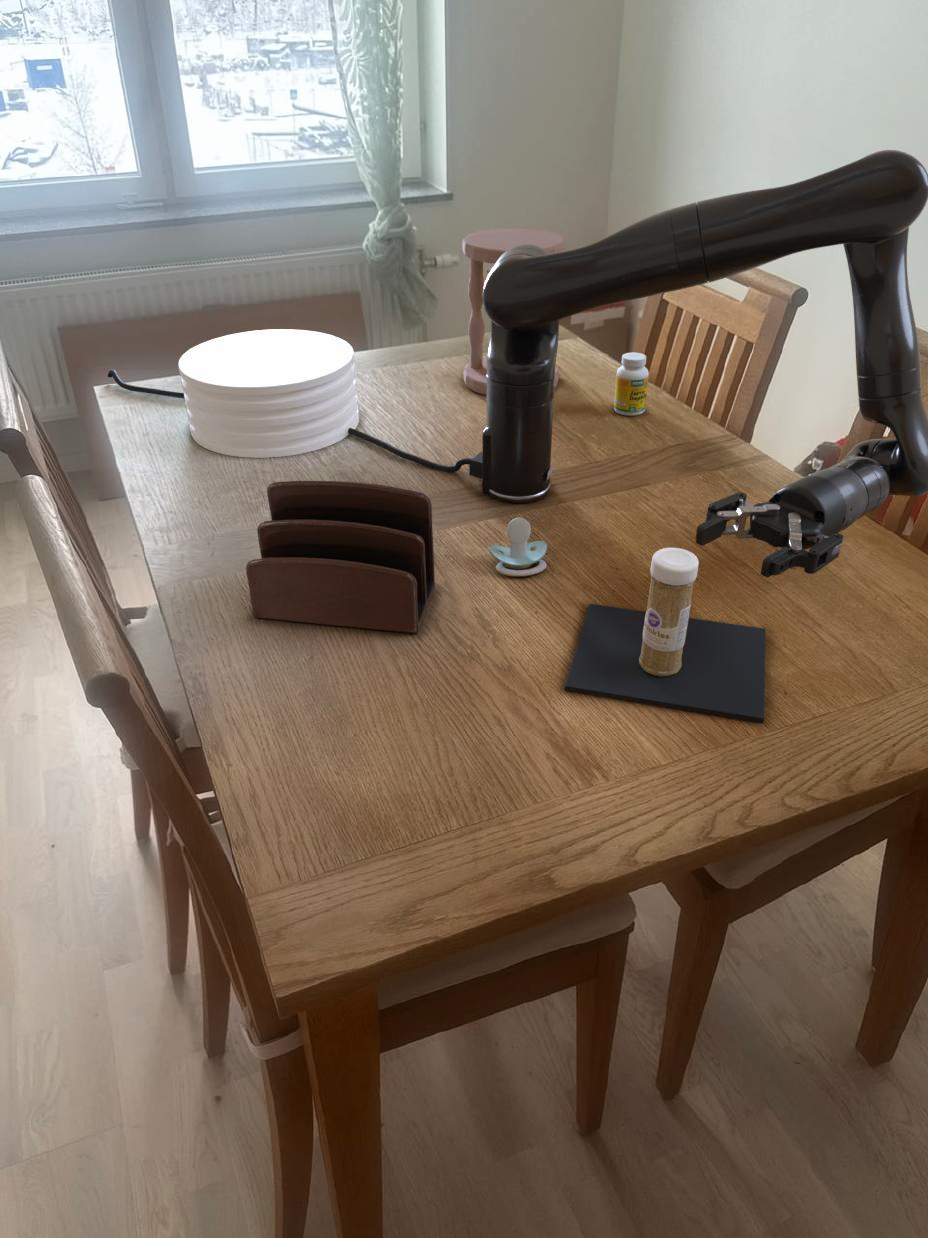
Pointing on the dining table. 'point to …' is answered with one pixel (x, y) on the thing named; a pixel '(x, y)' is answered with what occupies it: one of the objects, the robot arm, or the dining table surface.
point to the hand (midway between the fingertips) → (731, 552)
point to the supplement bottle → (631, 385)
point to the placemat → (707, 681)
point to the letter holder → (344, 556)
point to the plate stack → (270, 392)
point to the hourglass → (480, 250)
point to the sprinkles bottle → (667, 610)
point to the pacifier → (519, 551)
